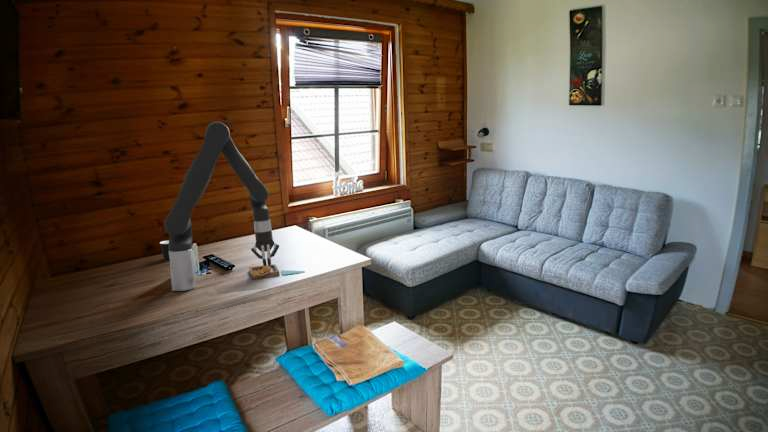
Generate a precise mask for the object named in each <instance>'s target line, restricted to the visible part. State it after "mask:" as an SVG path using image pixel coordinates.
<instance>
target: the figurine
mask: <svg viewBox="0 0 768 432" xmlns="http://www.w3.org/2000/svg"><path fill="white" fill-rule="evenodd" d="M262 266H263V268H262V270H260V269H258V270H257V271H256V270H254V271H253V272H251V271H252V269H251V271H250V270H249V273H252V275H253V276H257V275H260V276H262V275H265V274H268V273H266V272H272V268H270V266H268V264H266V265H265V266H264V265H262ZM259 273H260V274H259ZM261 273H265V274H261Z"/></svg>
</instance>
